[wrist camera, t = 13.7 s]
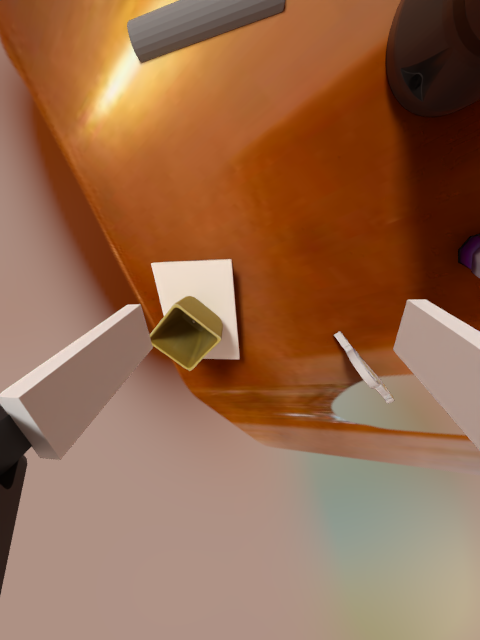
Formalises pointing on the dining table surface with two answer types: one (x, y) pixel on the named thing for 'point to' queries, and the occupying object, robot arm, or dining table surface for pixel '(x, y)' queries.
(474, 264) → the potion bottle
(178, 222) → the dining table surface
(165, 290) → the display ledge
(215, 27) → the gray half cylinder
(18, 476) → the robot arm
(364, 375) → the decorative sign
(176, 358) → the flower pot
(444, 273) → the dining table surface
